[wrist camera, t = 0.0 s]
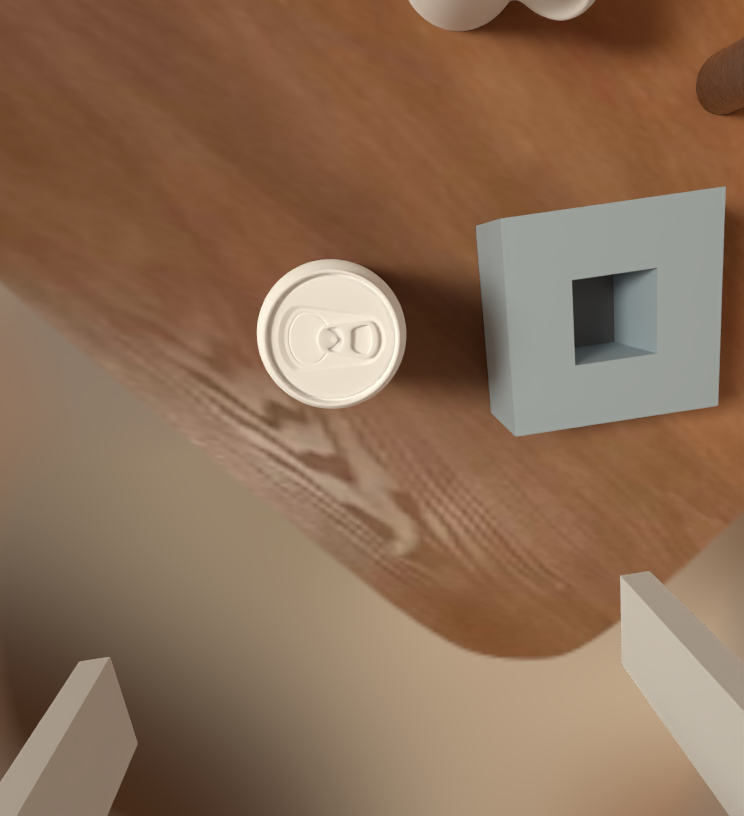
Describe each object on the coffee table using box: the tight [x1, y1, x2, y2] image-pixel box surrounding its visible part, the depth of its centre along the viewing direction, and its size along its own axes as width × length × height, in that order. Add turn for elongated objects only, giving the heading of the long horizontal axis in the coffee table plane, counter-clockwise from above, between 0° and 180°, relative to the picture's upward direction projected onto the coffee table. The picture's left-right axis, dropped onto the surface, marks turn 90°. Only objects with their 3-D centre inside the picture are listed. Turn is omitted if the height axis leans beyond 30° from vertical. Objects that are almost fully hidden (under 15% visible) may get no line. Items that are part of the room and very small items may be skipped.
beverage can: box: [257, 259, 406, 409], centre depth 33 cm, size 8×8×12 cm
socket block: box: [476, 186, 726, 436], centre depth 37 cm, size 14×14×6 cm
